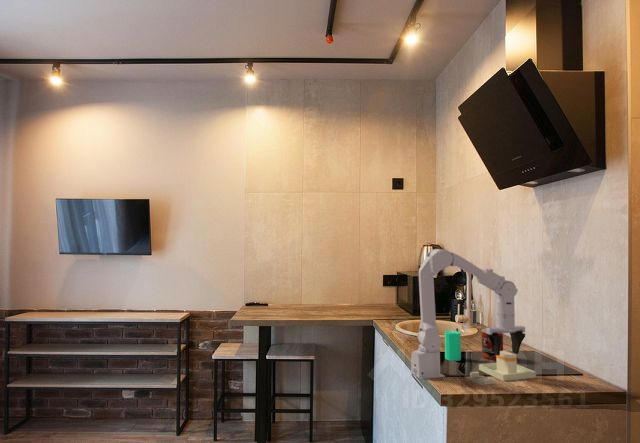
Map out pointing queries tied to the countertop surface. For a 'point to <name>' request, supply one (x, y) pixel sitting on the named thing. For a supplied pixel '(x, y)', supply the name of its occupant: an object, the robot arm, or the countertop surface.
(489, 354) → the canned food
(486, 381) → the fuse holder
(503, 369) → the block
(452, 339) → the candle
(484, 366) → the tray
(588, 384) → the countertop surface
